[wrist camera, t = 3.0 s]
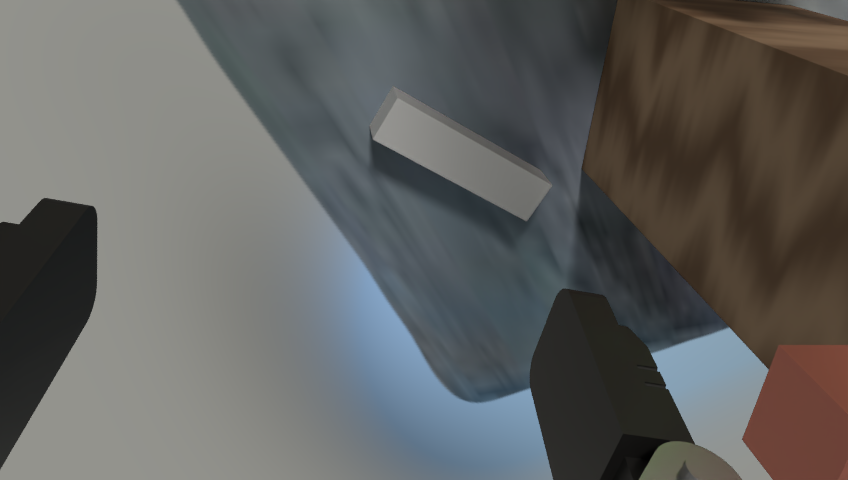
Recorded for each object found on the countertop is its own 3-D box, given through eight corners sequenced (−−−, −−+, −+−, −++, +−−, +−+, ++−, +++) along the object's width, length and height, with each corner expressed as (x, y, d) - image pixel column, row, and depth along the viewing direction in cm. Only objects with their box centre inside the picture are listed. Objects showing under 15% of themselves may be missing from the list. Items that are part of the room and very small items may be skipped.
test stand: (620, -11, 45) (1213, 214, 16) (791, 5, 47) (1595, 229, 18) (581, 168, 50) (972, 587, 21) (737, 175, 53) (1289, 565, 23)
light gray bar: (392, 84, 46) (397, 97, 44) (539, 168, 50) (552, 185, 48) (369, 124, 47) (372, 139, 45) (515, 203, 51) (526, 221, 49)
